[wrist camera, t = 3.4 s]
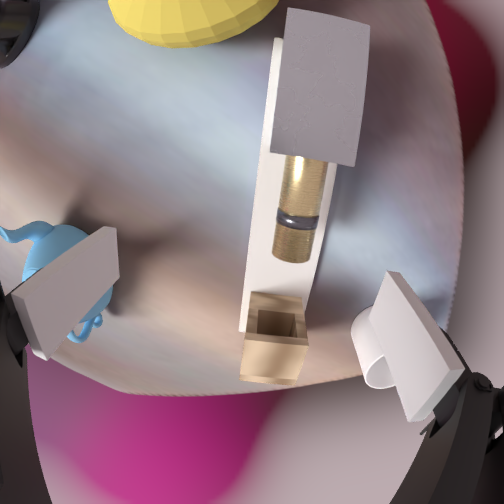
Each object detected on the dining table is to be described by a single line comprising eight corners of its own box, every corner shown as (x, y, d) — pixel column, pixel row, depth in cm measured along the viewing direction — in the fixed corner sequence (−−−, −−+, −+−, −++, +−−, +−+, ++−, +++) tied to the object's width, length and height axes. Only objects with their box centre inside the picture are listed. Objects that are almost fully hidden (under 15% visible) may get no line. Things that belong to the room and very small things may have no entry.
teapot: (45, 196, 34) (-9, 223, 23) (136, 242, 37) (91, 287, 26) (41, 279, 41) (2, 314, 30) (119, 324, 44) (87, 373, 33)
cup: (341, 319, 40) (356, 368, 31) (409, 280, 37) (439, 321, 27) (360, 350, 43) (374, 396, 33) (421, 315, 39) (446, 356, 30)
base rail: (239, 328, 42) (238, 331, 41) (274, 39, 25) (274, 37, 24) (297, 334, 42) (297, 338, 41) (349, 53, 25) (351, 52, 24)
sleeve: (269, 146, 31) (269, 152, 21) (282, 42, 25) (287, 7, 15) (328, 155, 30) (354, 167, 21) (341, 53, 25) (370, 25, 15)
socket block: (245, 327, 41) (239, 380, 32) (251, 288, 38) (244, 339, 29) (291, 332, 41) (294, 385, 32) (301, 294, 38) (308, 345, 29)
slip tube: (296, 57, 22) (300, 45, 18) (336, 65, 22) (347, 55, 18) (270, 243, 30) (270, 260, 26) (308, 248, 30) (313, 265, 26)
